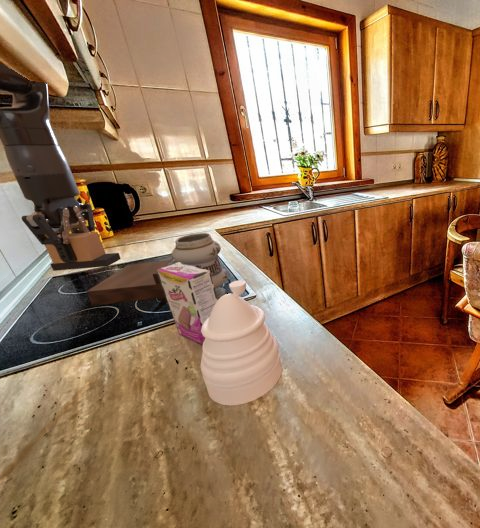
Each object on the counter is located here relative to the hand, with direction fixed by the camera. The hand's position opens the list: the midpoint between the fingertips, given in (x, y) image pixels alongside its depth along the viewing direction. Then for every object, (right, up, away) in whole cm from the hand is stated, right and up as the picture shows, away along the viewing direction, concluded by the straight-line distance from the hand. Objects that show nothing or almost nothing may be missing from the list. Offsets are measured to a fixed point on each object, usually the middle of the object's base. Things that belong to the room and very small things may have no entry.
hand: (79, 257), depth 58 cm
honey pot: (+38, -22, -8) cm, 45 cm away
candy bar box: (+24, -18, +4) cm, 30 cm away
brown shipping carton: (+1, -2, +1) cm, 2 cm away
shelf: (-5, -10, +27) cm, 29 cm away
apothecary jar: (+16, -11, +22) cm, 29 cm away
